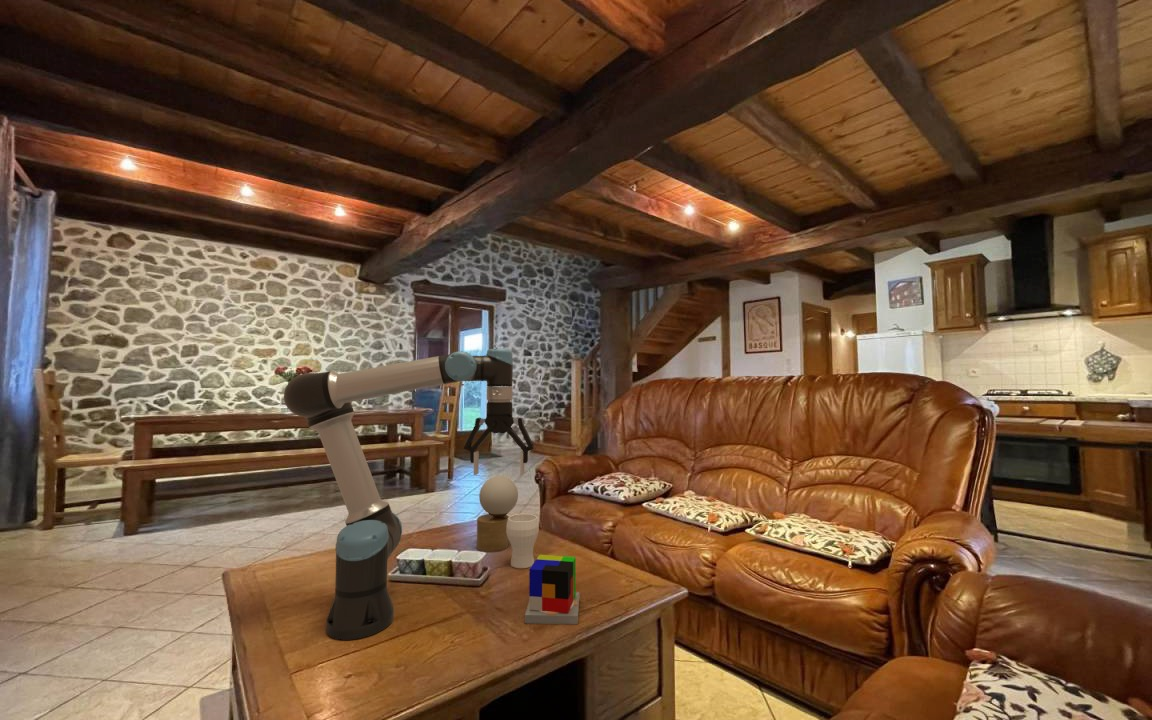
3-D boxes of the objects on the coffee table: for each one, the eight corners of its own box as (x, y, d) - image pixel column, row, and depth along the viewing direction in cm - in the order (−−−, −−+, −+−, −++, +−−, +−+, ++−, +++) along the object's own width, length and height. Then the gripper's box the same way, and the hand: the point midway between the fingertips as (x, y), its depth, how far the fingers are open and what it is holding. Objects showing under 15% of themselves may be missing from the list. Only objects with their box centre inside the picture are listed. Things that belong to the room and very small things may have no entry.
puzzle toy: (529, 609, 115) (529, 569, 115) (539, 592, 125) (539, 554, 125) (568, 613, 113) (568, 571, 114) (575, 595, 123) (575, 557, 123)
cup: (503, 560, 154) (504, 514, 154) (534, 556, 157) (534, 511, 158) (508, 572, 143) (509, 523, 144) (541, 568, 147) (542, 520, 148)
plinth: (524, 623, 112) (525, 614, 113) (532, 598, 125) (532, 590, 126) (577, 624, 112) (577, 614, 112) (579, 599, 125) (579, 591, 125)
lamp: (504, 536, 178) (505, 471, 179) (525, 545, 167) (525, 476, 168) (469, 545, 168) (470, 476, 169) (488, 556, 157) (489, 482, 159)
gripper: (453, 401, 131) (452, 476, 130) (540, 401, 130) (540, 477, 129) (461, 400, 139) (460, 471, 137) (543, 400, 138) (543, 472, 136)
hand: (499, 474), depth 133 cm, fingers open, 13 cm apart
